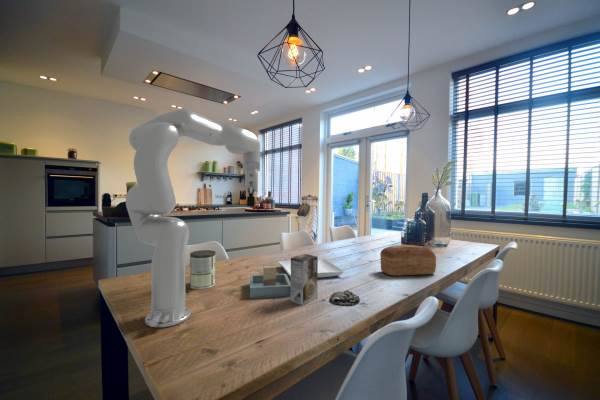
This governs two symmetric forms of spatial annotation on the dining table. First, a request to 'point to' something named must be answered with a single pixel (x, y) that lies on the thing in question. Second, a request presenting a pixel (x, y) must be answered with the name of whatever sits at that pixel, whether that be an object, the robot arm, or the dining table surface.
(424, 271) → the bread
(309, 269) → the coffee box
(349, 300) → the dark grey coiled lump
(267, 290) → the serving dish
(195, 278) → the coffee can
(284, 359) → the dining table surface
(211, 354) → the dining table surface
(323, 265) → the square plate
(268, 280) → the oak block
